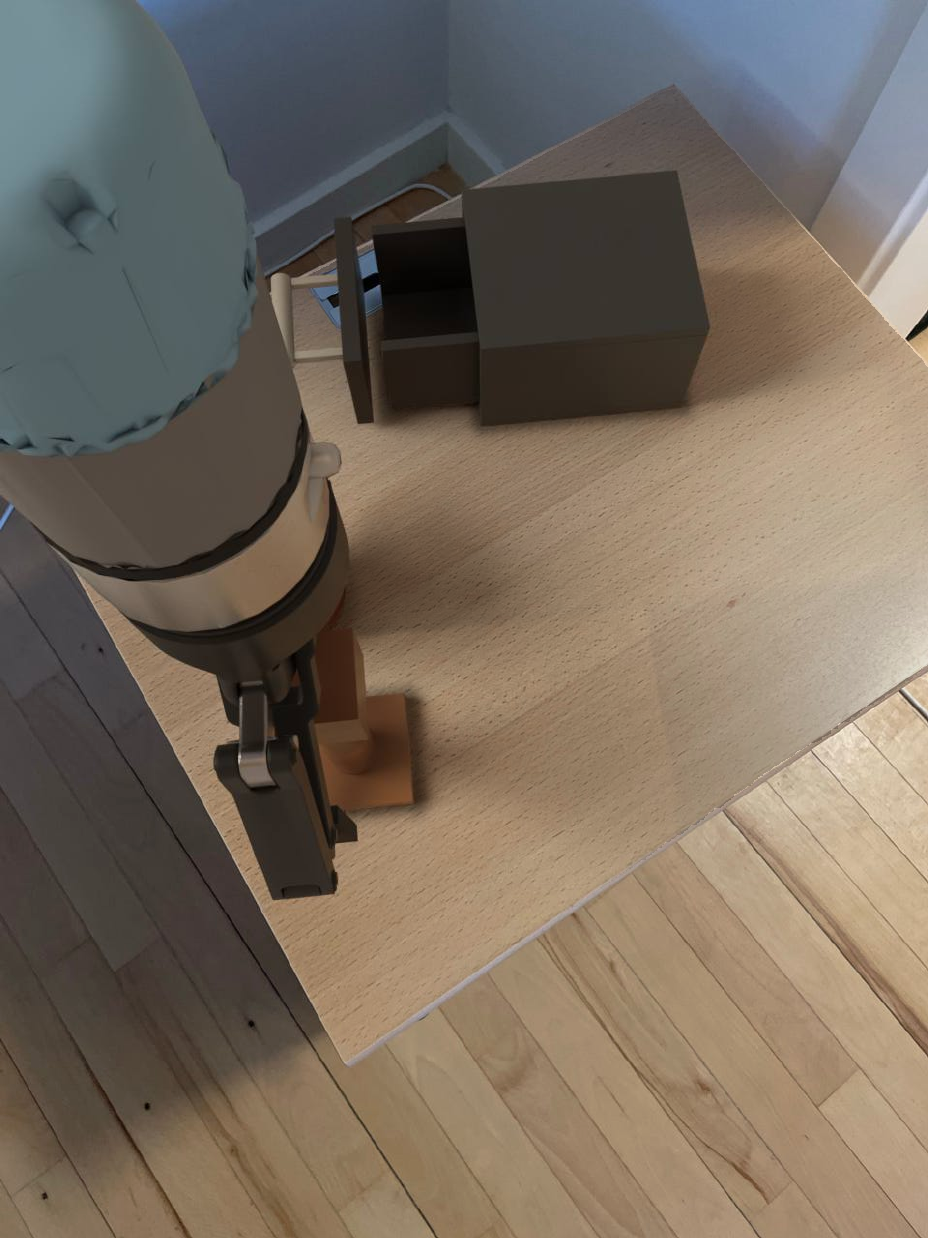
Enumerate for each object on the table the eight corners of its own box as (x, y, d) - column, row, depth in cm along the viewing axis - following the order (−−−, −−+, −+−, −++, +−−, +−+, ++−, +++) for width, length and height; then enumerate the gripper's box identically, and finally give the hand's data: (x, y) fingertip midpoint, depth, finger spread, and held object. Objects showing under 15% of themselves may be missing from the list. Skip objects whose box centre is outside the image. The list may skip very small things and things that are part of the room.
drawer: (289, 431, 70) (266, 369, 63) (283, 297, 74) (261, 224, 66) (545, 406, 70) (552, 342, 63) (526, 275, 74) (531, 199, 67)
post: (303, 814, 62) (255, 775, 49) (299, 707, 64) (251, 642, 51) (414, 803, 62) (395, 761, 49) (405, 696, 65) (385, 629, 51)
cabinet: (481, 426, 71) (480, 348, 62) (464, 282, 75) (461, 189, 66) (681, 407, 71) (710, 327, 62) (653, 264, 75) (677, 169, 66)
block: (279, 748, 49) (260, 728, 45) (276, 663, 51) (257, 636, 47) (369, 739, 49) (358, 719, 45) (363, 654, 51) (352, 626, 47)
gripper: (360, 944, 25) (416, 952, 45) (315, 176, 34) (379, 471, 54) (68, 974, 25) (254, 969, 45) (95, 197, 33) (242, 484, 53)
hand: (322, 699), depth 49 cm, fingers open, 13 cm apart
